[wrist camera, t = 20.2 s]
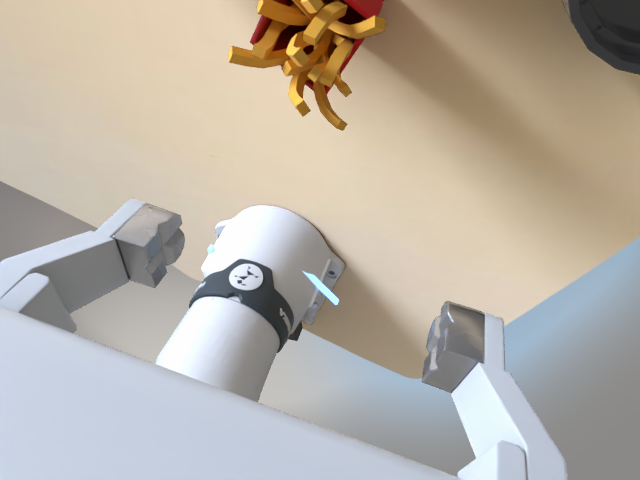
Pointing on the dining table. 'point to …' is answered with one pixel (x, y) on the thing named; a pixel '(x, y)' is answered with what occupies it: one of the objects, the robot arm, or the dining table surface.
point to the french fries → (311, 44)
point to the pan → (609, 30)
